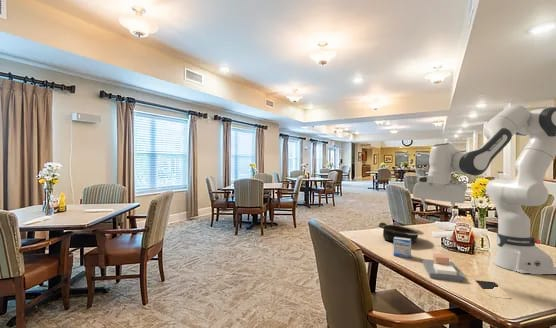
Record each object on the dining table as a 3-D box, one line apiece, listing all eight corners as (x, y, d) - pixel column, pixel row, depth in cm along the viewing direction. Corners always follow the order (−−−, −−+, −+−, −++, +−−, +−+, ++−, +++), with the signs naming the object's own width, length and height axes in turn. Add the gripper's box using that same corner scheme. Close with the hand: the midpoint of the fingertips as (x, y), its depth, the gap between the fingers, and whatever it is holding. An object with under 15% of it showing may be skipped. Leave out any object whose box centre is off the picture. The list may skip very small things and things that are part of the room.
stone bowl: (370, 239, 169) (371, 224, 170) (390, 235, 186) (390, 221, 186) (413, 248, 151) (413, 231, 151) (430, 242, 168) (431, 227, 168)
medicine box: (393, 255, 142) (393, 238, 142) (394, 253, 146) (394, 236, 146) (410, 258, 138) (410, 240, 138) (411, 255, 142) (411, 238, 142)
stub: (446, 263, 125) (446, 254, 125) (449, 267, 120) (449, 258, 120) (433, 262, 126) (433, 253, 126) (435, 266, 122) (435, 257, 122)
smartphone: (489, 296, 99) (474, 280, 113) (489, 298, 99) (474, 281, 113) (513, 298, 97) (495, 281, 111) (513, 300, 97) (495, 283, 111)
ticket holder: (452, 266, 128) (452, 258, 128) (464, 281, 112) (464, 272, 112) (422, 263, 131) (423, 255, 131) (430, 277, 115) (430, 269, 115)
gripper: (467, 181, 123) (465, 213, 123) (415, 177, 135) (414, 206, 135) (466, 182, 118) (464, 215, 118) (413, 177, 130) (411, 208, 130)
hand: (437, 210), depth 127 cm, fingers open, 8 cm apart
